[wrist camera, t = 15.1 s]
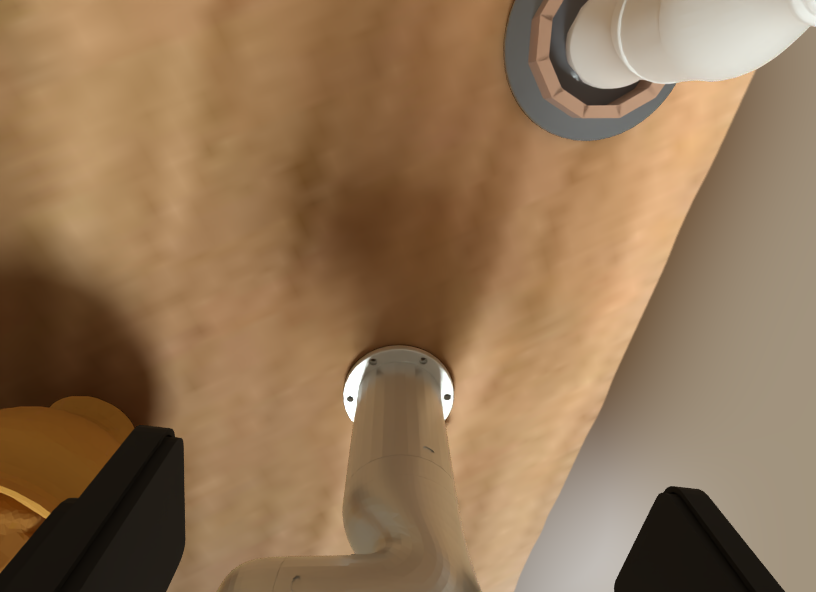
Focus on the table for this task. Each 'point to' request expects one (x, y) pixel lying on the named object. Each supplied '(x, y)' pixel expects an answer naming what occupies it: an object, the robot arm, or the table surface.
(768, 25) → the water bottle
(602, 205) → the table surface
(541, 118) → the ring plate
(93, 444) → the decorative bowl
